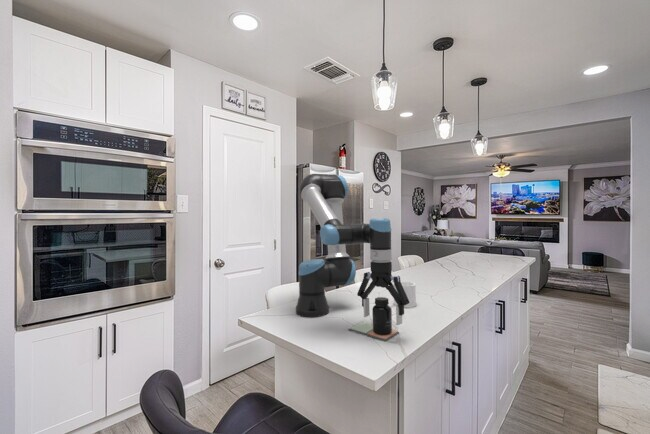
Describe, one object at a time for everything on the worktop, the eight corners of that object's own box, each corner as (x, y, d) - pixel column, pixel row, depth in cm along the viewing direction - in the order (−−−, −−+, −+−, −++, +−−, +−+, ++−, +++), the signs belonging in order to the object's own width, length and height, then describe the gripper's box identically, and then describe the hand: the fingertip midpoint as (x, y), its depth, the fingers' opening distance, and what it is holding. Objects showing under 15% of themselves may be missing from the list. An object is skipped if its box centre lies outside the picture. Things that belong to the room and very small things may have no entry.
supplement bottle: (392, 336, 101) (391, 301, 102) (372, 335, 103) (371, 301, 103) (391, 328, 108) (391, 296, 108) (373, 328, 110) (372, 296, 110)
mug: (411, 309, 133) (410, 287, 134) (390, 306, 140) (390, 284, 140) (420, 303, 143) (420, 282, 144) (401, 300, 150) (400, 279, 150)
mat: (348, 330, 110) (348, 328, 110) (363, 323, 117) (362, 321, 117) (385, 341, 99) (385, 339, 99) (399, 333, 106) (399, 330, 106)
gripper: (347, 259, 111) (348, 315, 111) (407, 265, 94) (409, 331, 94) (359, 257, 117) (360, 310, 117) (418, 262, 100) (419, 324, 100)
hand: (382, 319), depth 105 cm, fingers open, 13 cm apart
